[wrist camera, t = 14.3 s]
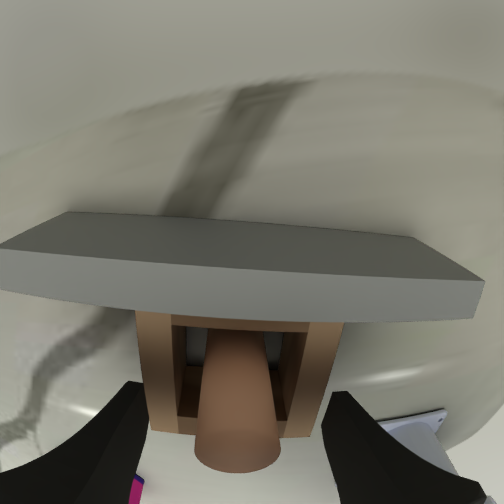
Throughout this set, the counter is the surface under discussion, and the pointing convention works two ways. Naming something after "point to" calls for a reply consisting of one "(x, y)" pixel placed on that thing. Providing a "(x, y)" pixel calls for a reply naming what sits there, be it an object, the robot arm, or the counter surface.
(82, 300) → the wall
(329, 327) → the socket block
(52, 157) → the counter surface
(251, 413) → the dowel
